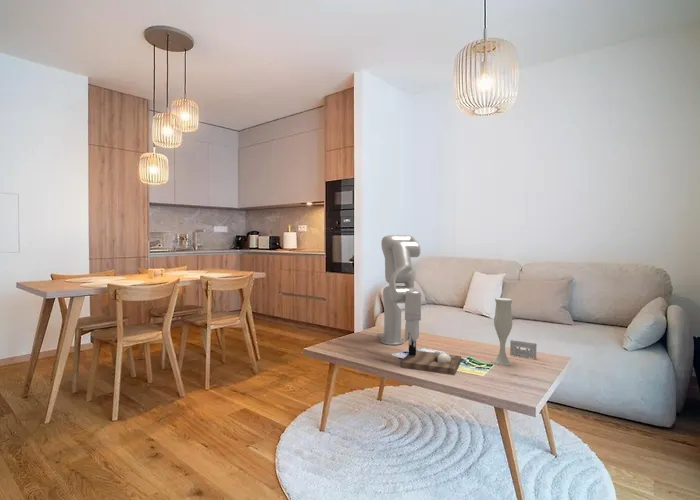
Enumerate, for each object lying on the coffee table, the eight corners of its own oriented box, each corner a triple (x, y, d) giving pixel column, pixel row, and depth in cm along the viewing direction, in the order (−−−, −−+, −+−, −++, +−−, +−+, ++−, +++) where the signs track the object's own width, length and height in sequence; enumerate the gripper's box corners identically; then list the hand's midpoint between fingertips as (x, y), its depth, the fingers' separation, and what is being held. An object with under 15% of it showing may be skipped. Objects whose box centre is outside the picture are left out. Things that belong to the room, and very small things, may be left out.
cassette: (509, 355, 198) (510, 340, 198) (510, 354, 199) (510, 339, 199) (535, 359, 191) (536, 344, 191) (536, 358, 193) (536, 343, 192)
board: (400, 367, 179) (400, 361, 179) (411, 355, 197) (411, 350, 197) (454, 374, 169) (454, 368, 169) (461, 361, 188) (461, 356, 188)
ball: (452, 362, 176) (441, 370, 178) (454, 360, 181) (444, 367, 183) (443, 351, 178) (433, 358, 180) (446, 349, 183) (436, 356, 185)
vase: (488, 360, 189) (489, 298, 188) (502, 358, 193) (503, 297, 192) (502, 366, 181) (503, 301, 180) (516, 363, 185) (517, 300, 184)
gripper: (408, 313, 195) (408, 349, 195) (400, 318, 181) (400, 358, 182) (424, 314, 192) (423, 351, 192) (417, 320, 178) (416, 360, 179)
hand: (412, 354), depth 187 cm, fingers closed
